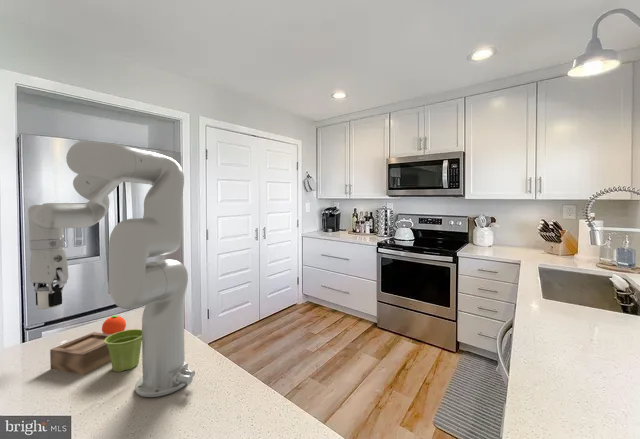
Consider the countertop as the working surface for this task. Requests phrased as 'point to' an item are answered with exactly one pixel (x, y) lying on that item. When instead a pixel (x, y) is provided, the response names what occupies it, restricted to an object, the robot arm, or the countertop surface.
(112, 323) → the clementine
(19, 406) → the countertop surface
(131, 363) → the plant pot
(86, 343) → the tray
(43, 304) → the white rounded cylinder
